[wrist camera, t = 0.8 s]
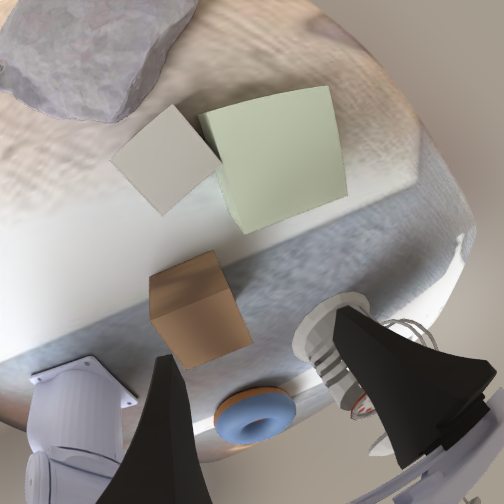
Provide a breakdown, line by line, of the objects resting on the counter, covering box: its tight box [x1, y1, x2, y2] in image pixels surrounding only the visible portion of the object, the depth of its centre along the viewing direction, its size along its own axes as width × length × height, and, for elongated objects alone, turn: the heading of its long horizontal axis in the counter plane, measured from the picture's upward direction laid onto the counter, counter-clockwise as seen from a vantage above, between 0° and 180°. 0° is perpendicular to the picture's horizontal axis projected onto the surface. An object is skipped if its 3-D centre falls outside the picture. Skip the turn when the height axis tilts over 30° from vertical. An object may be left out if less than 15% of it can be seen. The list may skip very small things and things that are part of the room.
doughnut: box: [214, 387, 296, 444], centre depth 29 cm, size 10×10×5 cm
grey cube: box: [110, 104, 223, 216], centre depth 14 cm, size 4×4×4 cm
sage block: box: [198, 85, 348, 235], centre depth 16 cm, size 7×7×4 cm
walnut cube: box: [149, 250, 253, 370], centre depth 19 cm, size 5×5×5 cm
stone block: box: [0, 0, 199, 123], centre depth 10 cm, size 12×5×10 cm
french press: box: [292, 291, 481, 504], centre depth 17 cm, size 10×12×25 cm
